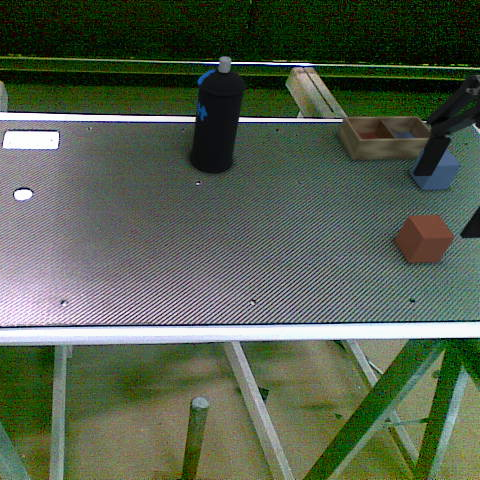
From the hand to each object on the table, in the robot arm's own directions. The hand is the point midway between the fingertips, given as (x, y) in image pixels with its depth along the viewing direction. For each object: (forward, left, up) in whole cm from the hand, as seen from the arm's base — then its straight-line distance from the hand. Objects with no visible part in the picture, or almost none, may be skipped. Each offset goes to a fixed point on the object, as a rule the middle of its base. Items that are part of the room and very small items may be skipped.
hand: (444, 203), depth 69 cm
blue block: (-11, -18, -10) cm, 23 cm away
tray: (-7, -29, -10) cm, 32 cm away
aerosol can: (+29, -26, -10) cm, 40 cm away
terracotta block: (0, 0, -10) cm, 10 cm away
